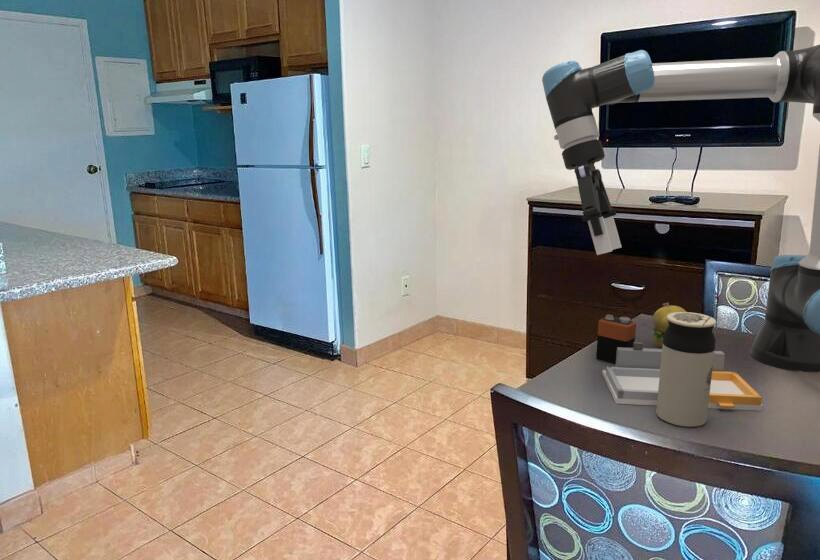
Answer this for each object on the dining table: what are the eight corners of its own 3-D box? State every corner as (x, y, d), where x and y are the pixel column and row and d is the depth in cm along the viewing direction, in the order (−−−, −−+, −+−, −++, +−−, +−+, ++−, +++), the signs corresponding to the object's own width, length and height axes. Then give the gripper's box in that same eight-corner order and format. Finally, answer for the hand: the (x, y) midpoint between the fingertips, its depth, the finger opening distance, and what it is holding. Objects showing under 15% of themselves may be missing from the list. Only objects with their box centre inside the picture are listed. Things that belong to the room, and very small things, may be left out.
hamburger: (691, 352, 135) (697, 301, 133) (677, 360, 131) (682, 307, 128) (658, 344, 141) (663, 294, 138) (643, 351, 136) (648, 300, 133)
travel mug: (648, 417, 104) (657, 318, 100) (667, 403, 109) (676, 308, 105) (695, 433, 98) (707, 328, 94) (713, 417, 104) (725, 317, 100)
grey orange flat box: (731, 380, 120) (735, 344, 118) (765, 413, 105) (770, 374, 103) (602, 374, 123) (604, 340, 121) (617, 406, 108) (620, 367, 107)
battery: (625, 367, 127) (628, 322, 125) (595, 359, 131) (598, 315, 129) (633, 362, 130) (637, 317, 128) (604, 354, 135) (607, 311, 132)
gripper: (573, 156, 128) (600, 252, 128) (546, 144, 106) (578, 260, 105) (609, 144, 125) (636, 242, 124) (588, 129, 103) (621, 249, 102)
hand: (610, 251), depth 115 cm, fingers open, 13 cm apart
